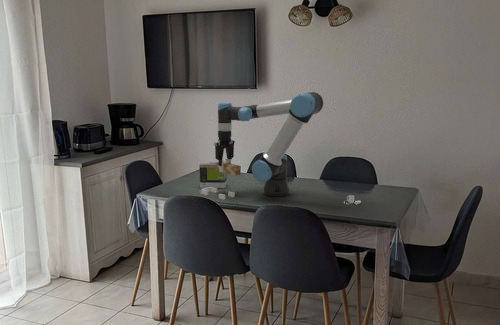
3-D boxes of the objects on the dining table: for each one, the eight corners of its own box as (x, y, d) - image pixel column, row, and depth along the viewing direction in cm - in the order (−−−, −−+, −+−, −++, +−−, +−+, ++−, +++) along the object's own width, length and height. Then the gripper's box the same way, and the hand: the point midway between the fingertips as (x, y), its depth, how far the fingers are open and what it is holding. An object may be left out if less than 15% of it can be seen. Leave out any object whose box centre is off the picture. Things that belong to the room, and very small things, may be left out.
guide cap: (234, 196, 275) (234, 192, 274) (223, 199, 269) (223, 195, 268) (229, 195, 278) (229, 191, 277) (218, 198, 272) (218, 194, 271)
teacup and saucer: (363, 204, 261) (363, 196, 260) (352, 206, 257) (352, 199, 256) (351, 200, 268) (351, 193, 267) (340, 202, 264) (340, 195, 263)
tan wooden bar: (240, 174, 275) (240, 165, 274) (235, 175, 273) (235, 166, 272) (221, 169, 286) (221, 161, 285) (215, 170, 283) (215, 162, 282)
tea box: (227, 184, 304) (226, 161, 301) (224, 188, 294) (224, 164, 291) (202, 184, 305) (202, 160, 302) (199, 188, 295) (199, 164, 293)
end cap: (217, 192, 284) (217, 188, 284) (206, 195, 278) (206, 191, 278) (210, 190, 288) (210, 186, 288) (199, 193, 282) (199, 189, 282)
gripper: (231, 128, 285) (231, 167, 290) (208, 130, 273) (208, 171, 278) (240, 129, 280) (240, 169, 284) (217, 132, 268) (217, 174, 273)
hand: (224, 170), depth 281 cm, fingers closed on tan wooden bar, 4 cm apart
